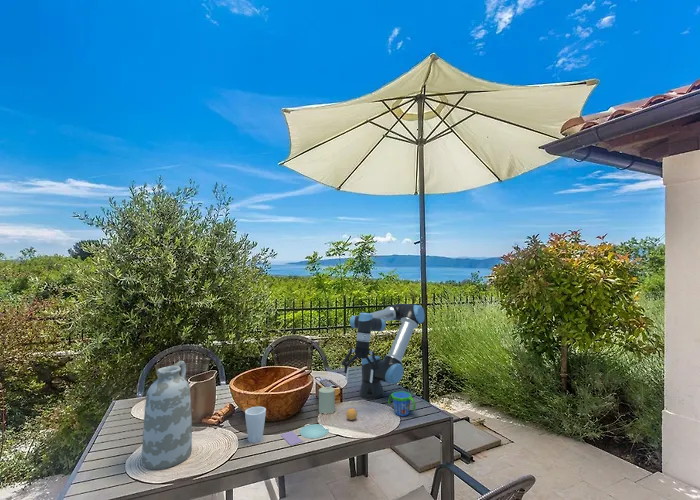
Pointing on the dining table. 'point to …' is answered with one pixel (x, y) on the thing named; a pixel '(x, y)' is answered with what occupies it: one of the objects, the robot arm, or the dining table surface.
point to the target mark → (313, 431)
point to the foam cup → (255, 423)
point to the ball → (351, 414)
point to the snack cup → (401, 402)
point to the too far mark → (291, 438)
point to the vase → (167, 420)
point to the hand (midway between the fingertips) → (358, 381)
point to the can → (326, 400)
